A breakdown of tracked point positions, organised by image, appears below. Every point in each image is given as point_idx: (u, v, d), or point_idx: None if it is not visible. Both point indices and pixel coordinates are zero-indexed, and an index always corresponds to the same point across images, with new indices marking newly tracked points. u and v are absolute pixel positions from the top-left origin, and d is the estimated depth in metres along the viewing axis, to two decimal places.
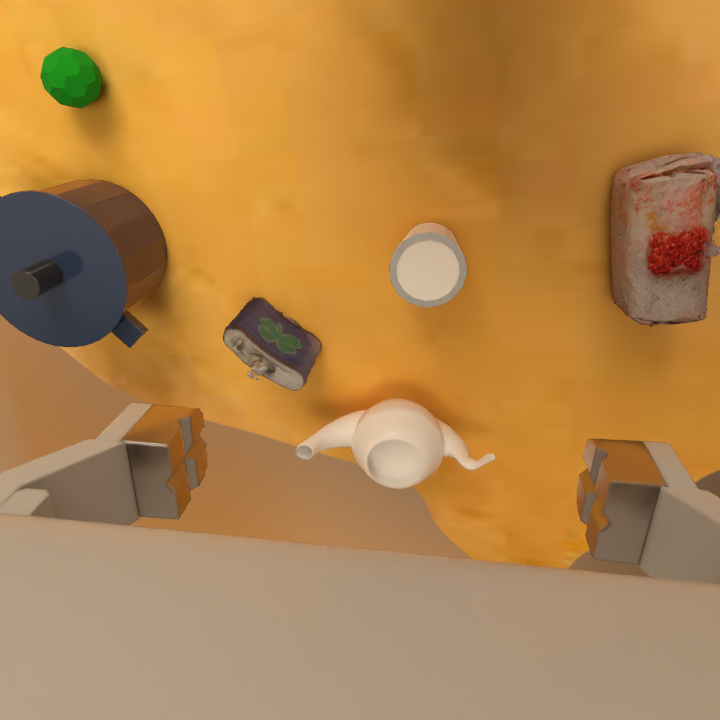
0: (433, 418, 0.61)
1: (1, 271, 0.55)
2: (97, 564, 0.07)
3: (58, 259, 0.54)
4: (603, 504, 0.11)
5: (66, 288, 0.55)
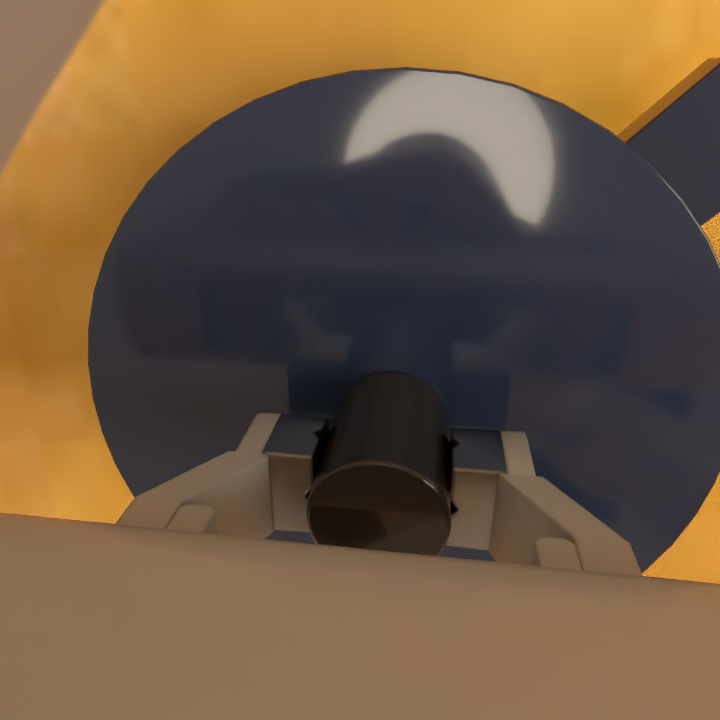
0: None
1: (399, 216, 0.12)
2: (97, 564, 0.07)
3: None
4: (450, 490, 0.11)
5: None
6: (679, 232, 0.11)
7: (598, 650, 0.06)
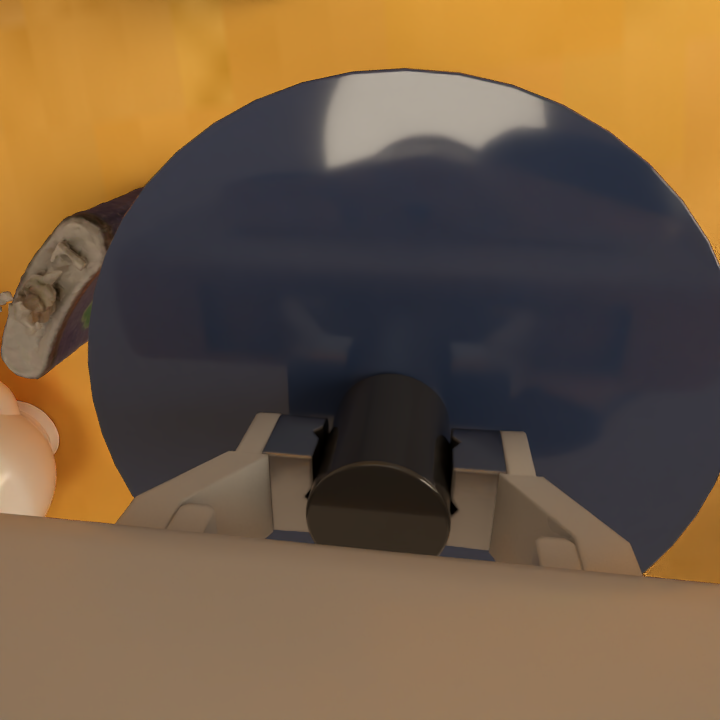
0: None
1: (398, 217, 0.12)
2: (97, 564, 0.07)
3: None
4: (450, 491, 0.11)
5: None
6: (679, 233, 0.11)
7: (598, 650, 0.06)
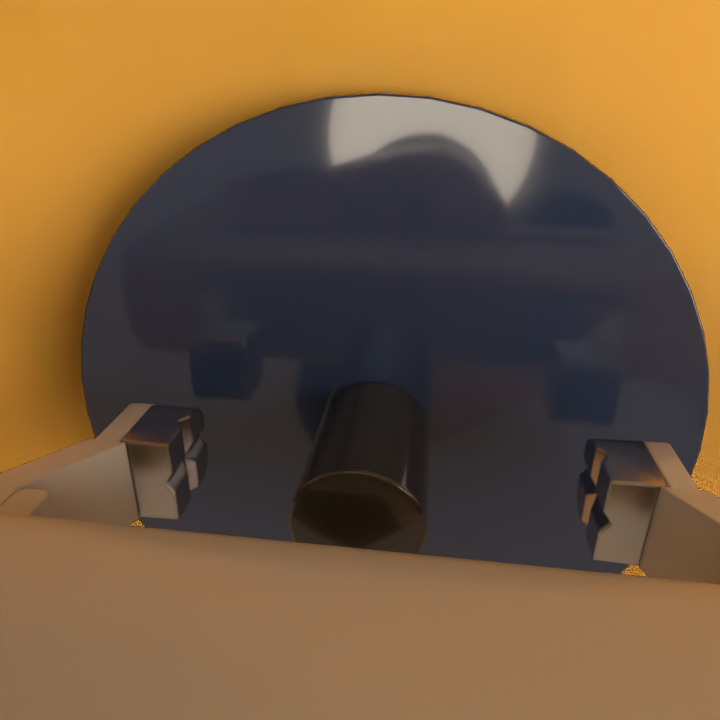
0: None
1: (375, 234, 0.12)
2: (97, 564, 0.07)
3: (431, 475, 0.15)
4: (603, 504, 0.11)
5: None
6: (643, 245, 0.12)
7: (598, 650, 0.06)
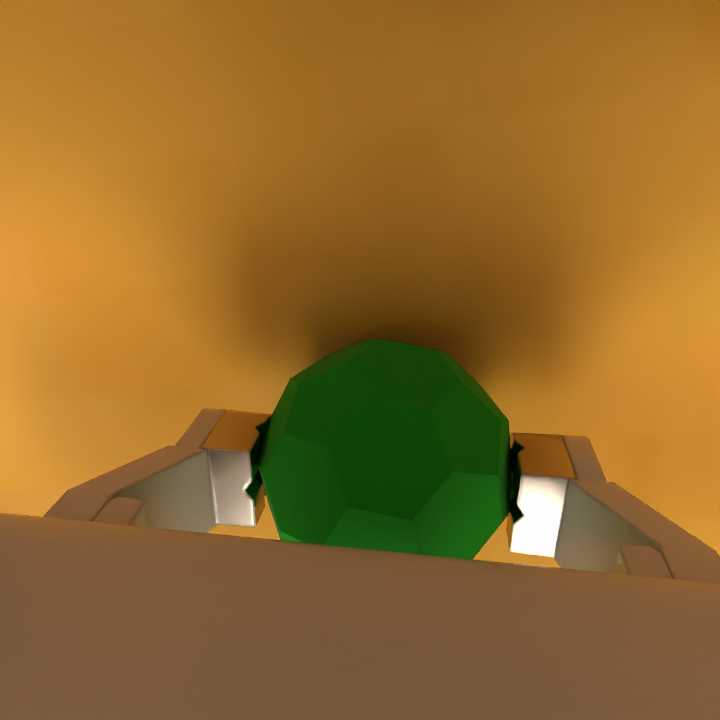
0: None
1: None
2: (97, 564, 0.07)
3: None
4: (516, 496, 0.11)
5: None
6: None
7: (598, 650, 0.06)
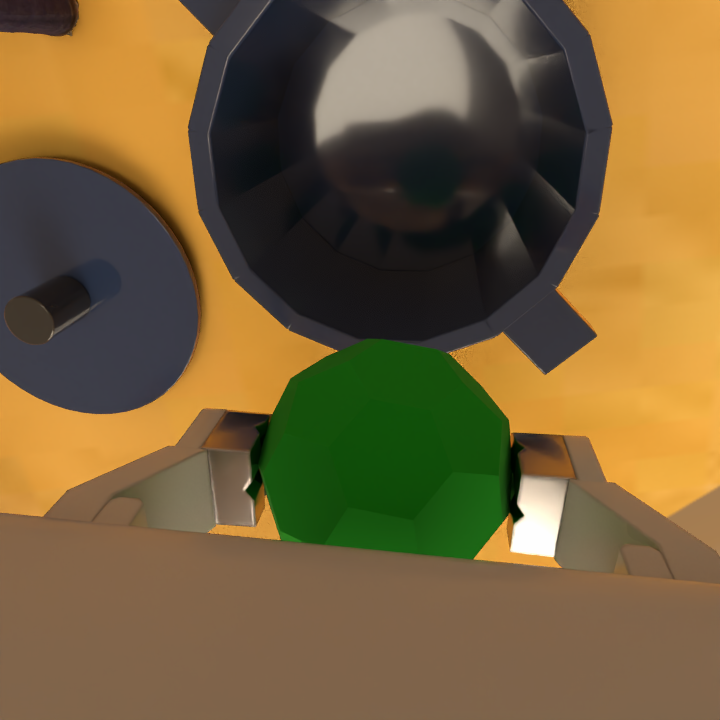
0: None
1: (149, 299, 0.32)
2: (97, 564, 0.07)
3: None
4: (516, 496, 0.11)
5: (39, 274, 0.32)
6: (163, 386, 0.34)
7: (598, 650, 0.06)
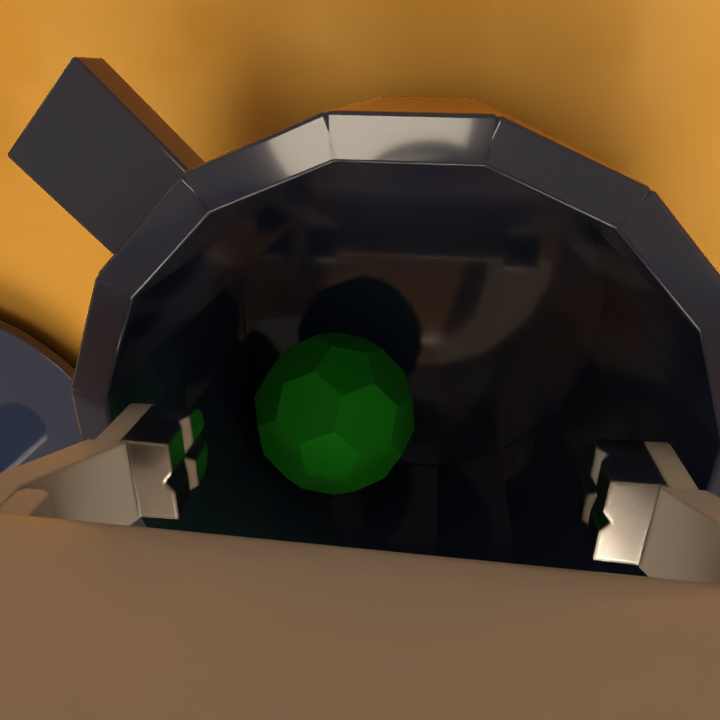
0: None
1: None
2: (97, 564, 0.07)
3: None
4: (603, 504, 0.11)
5: None
6: None
7: (598, 650, 0.06)
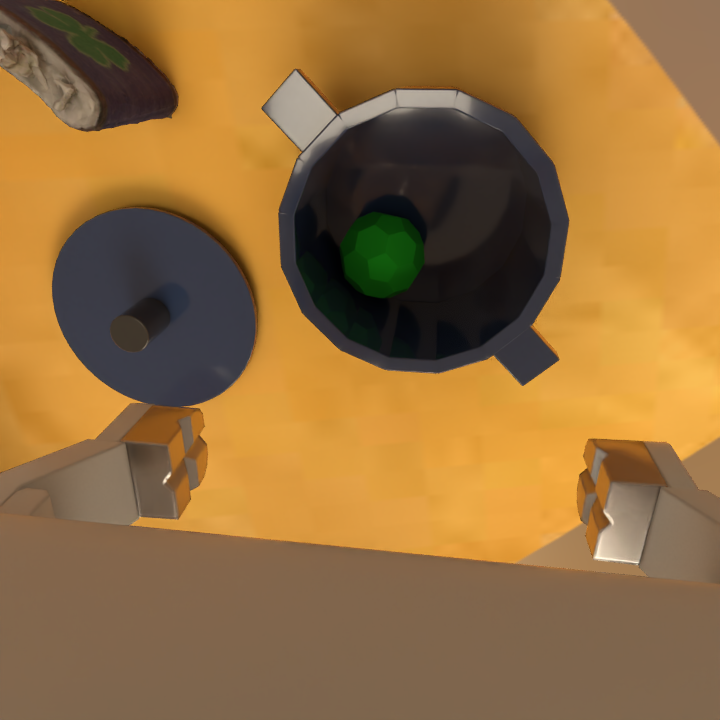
0: None
1: (217, 317, 0.41)
2: (97, 564, 0.07)
3: None
4: (603, 504, 0.11)
5: (130, 296, 0.41)
6: (223, 385, 0.43)
7: (598, 650, 0.06)
